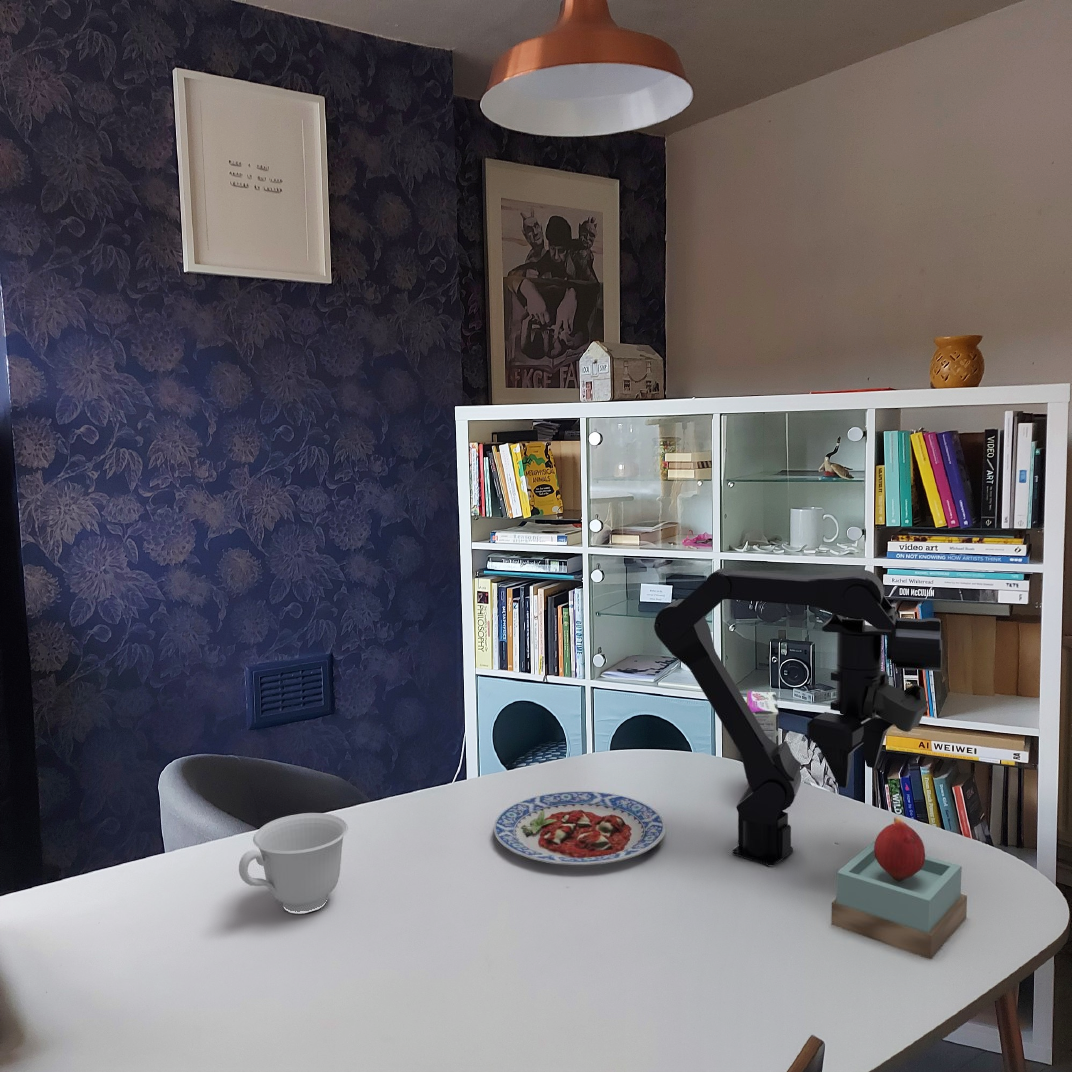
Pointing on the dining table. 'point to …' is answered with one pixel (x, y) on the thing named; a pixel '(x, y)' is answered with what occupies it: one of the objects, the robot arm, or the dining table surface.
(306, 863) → the teacup
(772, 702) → the candy bar box
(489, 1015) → the dining table surface
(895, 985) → the dining table surface
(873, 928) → the bottom block
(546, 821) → the ceramic plate
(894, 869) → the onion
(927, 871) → the top block
